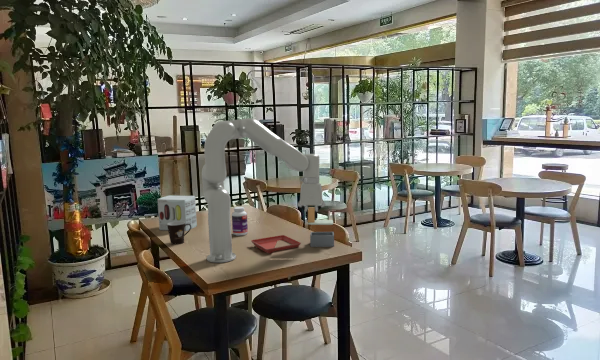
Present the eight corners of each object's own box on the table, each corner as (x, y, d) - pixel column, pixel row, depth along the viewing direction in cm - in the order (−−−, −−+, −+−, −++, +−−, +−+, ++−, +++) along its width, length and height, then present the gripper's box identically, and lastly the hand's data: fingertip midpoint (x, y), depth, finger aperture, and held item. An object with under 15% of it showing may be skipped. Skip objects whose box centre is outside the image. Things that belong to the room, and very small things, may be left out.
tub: (334, 248, 208) (333, 235, 208) (310, 248, 209) (310, 235, 208) (334, 244, 215) (333, 231, 214) (311, 244, 216) (310, 232, 215)
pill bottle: (245, 236, 235) (243, 209, 233) (230, 236, 237) (229, 209, 235) (249, 232, 243) (248, 206, 241) (235, 232, 244) (234, 206, 243)
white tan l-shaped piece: (333, 225, 206) (333, 209, 205) (307, 225, 207) (307, 209, 206) (332, 222, 214) (333, 206, 213) (308, 221, 215) (308, 206, 214)
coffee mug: (168, 245, 221) (167, 226, 219) (168, 241, 229) (167, 222, 227) (192, 243, 224) (191, 223, 222) (192, 239, 232) (190, 220, 231)
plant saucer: (301, 249, 209) (301, 242, 209) (266, 256, 200) (266, 248, 200) (283, 241, 225) (283, 234, 224) (250, 247, 216) (250, 240, 216)
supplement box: (158, 230, 254) (156, 199, 251) (170, 225, 266) (168, 195, 264) (186, 231, 250) (184, 199, 247) (197, 226, 262) (195, 195, 260)
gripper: (293, 181, 205) (293, 221, 207) (329, 181, 204) (328, 221, 206) (294, 179, 213) (294, 217, 215) (329, 179, 212) (328, 218, 214)
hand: (311, 219), depth 210 cm, fingers closed on white tan l-shaped piece, 3 cm apart
